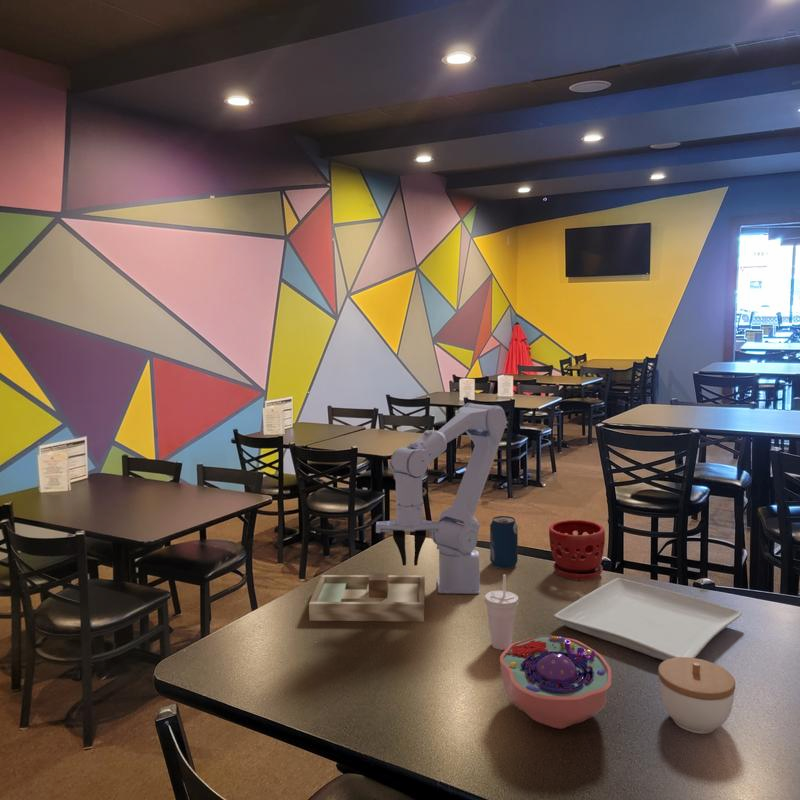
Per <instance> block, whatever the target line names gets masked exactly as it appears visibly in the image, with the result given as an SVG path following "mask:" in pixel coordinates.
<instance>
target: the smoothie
mask: <svg viewBox="0 0 800 800" xmlns="http://www.w3.org/2000/svg"><path fill="white" fill-rule="evenodd" d="M484 603H485V604H486V609H487V618H488V625H489V633H490V634H489V635H490V641H491V646H492V648H494V649H495V650H501V651H505V650H506V649H507V647H508V646H509V645H510V644H512V642H513V635H514V628H515V627H514V626H515V620H516V612H517V606H518V605H519V596H518V595H517V594H516V593H514V592H511V591H509V590H508V591H507V574H505V573H504V574H502V590H501V589H500V590H492V591H489V592H487V593H486V594H485V595H484Z"/></svg>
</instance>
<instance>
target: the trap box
mask: <svg viewBox="0 0 800 800" xmlns="http://www.w3.org/2000/svg"><path fill="white" fill-rule="evenodd" d="M369 576H370V574H367V575H366V574H364V575H363V574H361V575H360V574H321V575H320V577H319V580H318V582H317V584H316V587H315V589H314V591H313V594H312V595H311V598H310V601H309V603H308V615H309V618H308V619H309V620H308V621H311V622H312V621H313V622H314V621H316V622H318V621H319V622H320V621H324V622H330V621H331V622H332V621H333V622H335V621H336V622H425V600H426V599H425V595H426V594H425V593H426V591H425V590H426V583H425V582H426V579H425V578H426V577H425V575H424V574H423V575H422V574H421V575H419V574H418V575H414V574H413V575H411V574H410V575H406V574H404V575H403V574H402V575H398V574H394V575H393V574H391V575H390V574H388V596H387V598H369Z"/></svg>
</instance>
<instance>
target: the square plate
mask: <svg viewBox="0 0 800 800" xmlns="http://www.w3.org/2000/svg"><path fill="white" fill-rule="evenodd" d="M742 615H743V613H742V611H740V610H738V609H734V608H731V607H729V606H728V607H727V606H724V605H721V604H717V603H714V602H712V601H708V600H705V599H703V598H702V599H701V598H697V597H695V596H692V595H691V596H690V595H686V594H684V593H679V592H678V591H677V592H676V591H674V590H669V589H665V588H661V587H657V586H654V585H649V584H646V583H641V582H637V581H632V580H630V579H625V578H620V577H617V578H613V579H611V580H610V581H608V582H607V583H604V584H603V585H601V586H599V587H597V588H595V589H594V590H593V591H591V592H589V593H587V594H585V595H584V596H582V597H581V598H579V599H577V600H575V601H574V602H572V603H571V604H568V605H567V606H565V607H564V608H562V609H561V610H559V611H558V612H556V613H554V614H553V618H555V619H556V620H557V622H559V623H561V625H563V626H566V627H567V628H570V629H572V630H574V631H577V632H581V633H583V634H586V635H589V636H593V637H595V638H598V639H601V640H604V641H607V642H610V643H613V644H617V645H620V646H622V647H624V648H627V649H631V650H634V651H635V652H639V653H642V654H644V655H648V656H650V657H652V658H655V659H658V660H661V661H662V662H663V661H665V660H667V659H670V658H676V657H689V658H696V657H697V656H698V655H699V654H700V653H701V651H702V650H703V649H704V648H705V647H706V646H707V644H708V643H709V642H710V641H711V640H712V639H713V638H714V637H715V636H717V635H718V634H719V633H720V632H721V631H723V630H724V629H726V628H727V627H729V625H731V624H732V623H733V622H734V621H736V620H737V619H738V618H740V617H741V616H742Z"/></svg>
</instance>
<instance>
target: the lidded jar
mask: <svg viewBox="0 0 800 800" xmlns="http://www.w3.org/2000/svg"><path fill="white" fill-rule="evenodd" d="M657 671H658V672H657V674H658V692H659V697H660V700H661V703H662V706H663V708H664V710H665V712H666V713H667V714H668V715H669V716H670V717H671V719H672V720H673V722H674V723H675V724H676V725H677V726H678V727H679V728H681V729H682V730H683V731H684V730H685V731H687V732H690V733H693V734H699V735H700V734H701V735H703V734H705V735H707V734H710V733H713V732H714V731H716V729H718V728H719V727H721V726H723V724H724V723H726V721H727V720H728V718H729V717H730V716H731V712H732V711H733V706H734V705H733V704H734V699H735V690H736V680H735V678H734V676H733V675H732V673H730V671H728V670H726V669H725V667H724V668H723V666H720V665H718V664H716V663H714V662H710V661H708V660H705V659H701V658H696V657H695V658H689V657H676V658H670V659H667V660H665V661H663V660H662V662H660V664H659V665H658V670H657Z"/></svg>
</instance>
